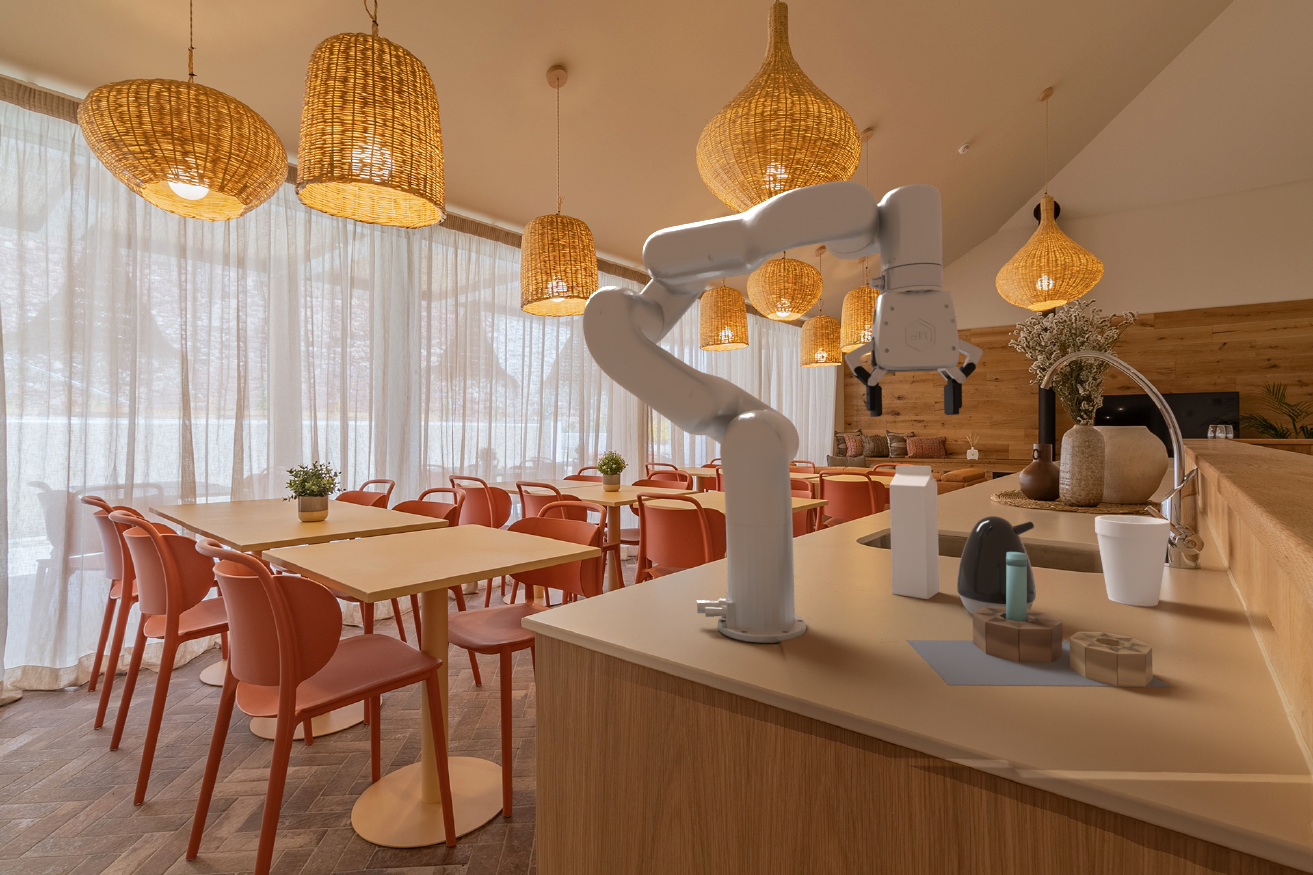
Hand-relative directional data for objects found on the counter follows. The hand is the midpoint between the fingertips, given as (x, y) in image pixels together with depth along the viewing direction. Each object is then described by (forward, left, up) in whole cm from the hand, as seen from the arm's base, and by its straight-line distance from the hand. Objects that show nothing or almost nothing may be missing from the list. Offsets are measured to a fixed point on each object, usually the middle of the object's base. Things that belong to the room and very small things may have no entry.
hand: (913, 415), depth 80 cm
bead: (+11, -3, -30) cm, 32 cm away
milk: (+8, +25, -31) cm, 40 cm away
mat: (+10, -7, -30) cm, 33 cm away
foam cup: (+40, +20, -31) cm, 54 cm away
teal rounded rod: (+11, -3, -30) cm, 32 cm away
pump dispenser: (+15, +11, -31) cm, 36 cm away
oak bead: (+18, -11, -30) cm, 36 cm away
